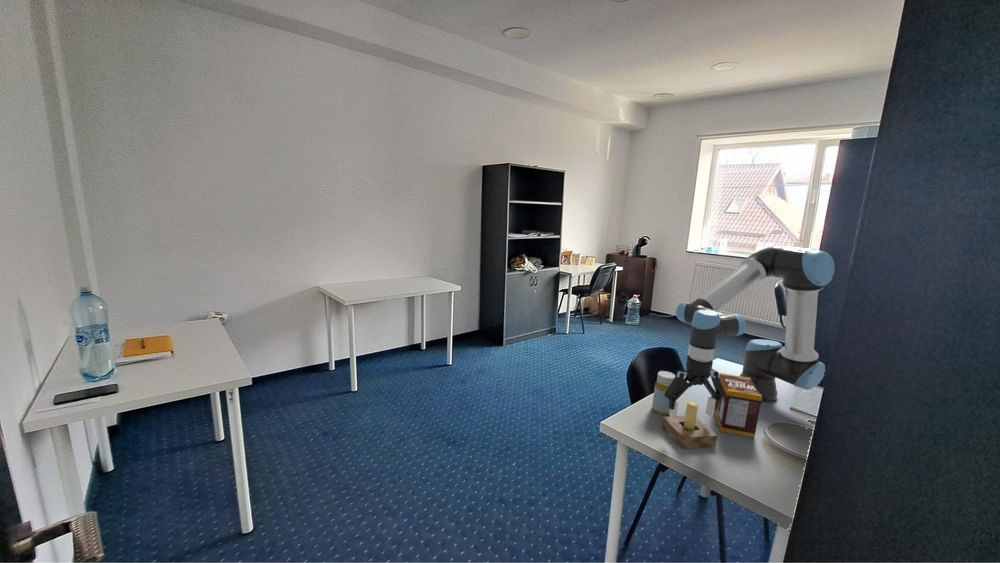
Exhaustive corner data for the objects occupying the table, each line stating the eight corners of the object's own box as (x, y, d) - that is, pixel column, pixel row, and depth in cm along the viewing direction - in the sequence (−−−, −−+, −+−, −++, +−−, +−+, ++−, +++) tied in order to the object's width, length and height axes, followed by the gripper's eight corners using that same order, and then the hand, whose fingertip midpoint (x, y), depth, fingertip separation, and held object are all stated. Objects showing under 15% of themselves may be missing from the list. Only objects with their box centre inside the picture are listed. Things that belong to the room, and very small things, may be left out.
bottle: (673, 417, 143) (679, 379, 140) (653, 414, 144) (658, 377, 141) (669, 407, 149) (674, 371, 146) (650, 404, 151) (655, 369, 148)
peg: (689, 433, 133) (694, 401, 131) (695, 439, 130) (700, 407, 127) (680, 433, 133) (684, 402, 130) (686, 439, 129) (691, 407, 127)
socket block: (692, 425, 138) (694, 415, 137) (715, 446, 126) (717, 435, 126) (661, 427, 136) (662, 416, 135) (682, 448, 125) (683, 437, 124)
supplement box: (743, 415, 146) (750, 377, 143) (754, 438, 132) (763, 396, 128) (712, 409, 149) (719, 372, 146) (720, 431, 135) (728, 390, 132)
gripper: (726, 351, 131) (716, 408, 135) (658, 354, 127) (650, 412, 131) (743, 361, 123) (732, 420, 128) (671, 363, 120) (662, 424, 124)
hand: (690, 416), depth 130 cm, fingers open, 13 cm apart
